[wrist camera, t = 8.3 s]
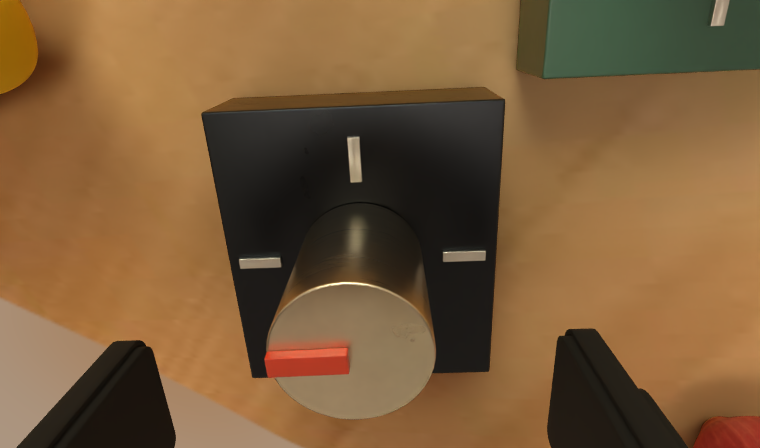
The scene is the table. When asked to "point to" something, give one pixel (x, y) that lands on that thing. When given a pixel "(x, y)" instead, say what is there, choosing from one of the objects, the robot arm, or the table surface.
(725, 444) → the onion
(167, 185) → the table surface
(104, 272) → the table surface
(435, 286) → the panel
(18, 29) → the duckling
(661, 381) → the table surface
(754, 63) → the panel
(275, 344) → the dial
